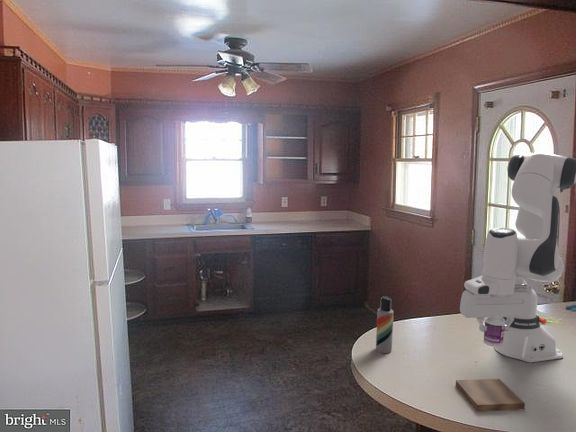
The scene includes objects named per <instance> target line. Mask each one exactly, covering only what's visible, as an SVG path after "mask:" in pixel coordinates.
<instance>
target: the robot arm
mask: <svg viewBox="0 0 576 432" xmlns="http://www.w3.org/2000/svg"><path fill="white" fill-rule="evenodd" d="M506 169H507V177H508V178H509V180H511V181H512V182H513V183H512V187H511V197H512V199H513V201H514V202H515V203H516V205H517V206H518V207H519V208H518V211H517V214H516V220H515V223H514V224H515V225H514V226H515V229H516V230H517V231H518V233H520V235H522V236H523V237H519V236H518V233H517V231H516V230H515V229H512V228H509V227H495V228H492V229H490V230H488V231H487V235H486V238H485V243H484V248H483V257H482V260H483V268H482V271H481V275H480V276H477V277H474V278H472V279H468V280H465V282H464V288H465V290H464V291H463V292H462V294H461V297H460V304H459V311H460V314H461V315H462V316H463V317H464V318H466V319H467V318H468V319H471V318H472V319H476V321H477V322H478V324H479V325H478V326H479V328H478V329H479V331H480V332H483V333H484V331H487V326H486V325H485V323H484V322H485V319H486V318H487V317H495V316H496V315H497V314H501V315H502V317H503V318H502V319H503V320H504V322H505V328H504V338H503V345H502V346H500V347H493V348H494V350H496V351H497V352H498V353H499V354H500V355H503V356H506V357H508V358H512V359H517V360H521V361H524V362H527V363H537V362H544V361H552V360H557V359H563V353H562V351H561V350H560V349H559V348H557V345H556V344H557V343H556V340H555V337H554V336H553V335H552V334H551V333H550V332H548V331H547V330H546V329H545V328H544V327H543V326H541V325H546V324H547V322H548V321H547V319H546V318H544V317H540V316H539V315H537V308H538V299H539V298H538V294H537V292H536V291H535V290H534V289H533V288H532V287H531V286H530V285H528V283H527V280H526V279H529V280H532V281H533V280H534V281H536V282H545V283H546V282H547V283H552V282H553V283H554V282H557V281H558V280H559V279H560V277H562V275H563V272H564V268H565V266H564V261H563V258H562V257H561V255H560V252H559V239H560V238H559V237H560V222H561V221H560V219H561V213H560V208H561V207H560V202H559V199H558V197H557V189H559V193H560V194H561V193H563V191H564V190H569V189H570V188H573V186H575V184H576V158H574V157H571V156H563V155H560V154H559V155H558V154H554V153H548V152H547V153H543V152H534V153H533V152H523V151H522V152H516V153H514V154H512V155H511V157H510V159H509V161H508V163H507V167H506Z"/></svg>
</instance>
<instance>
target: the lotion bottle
mask: <svg viewBox="0 0 576 432" xmlns="http://www.w3.org/2000/svg"><path fill="white" fill-rule="evenodd" d="M376 313H377V315H376V316H377V317H376V334H375V335H376V337H375V339H376V340H375V350H376V351H377V352H378V353H382V354H389V353H391V352H392V351H393V349H392V348H393V332H394V331H393V330H394V313H395V312H394V310H393V309H392V298H391V297H389V296H381V298H380V306H379V308H377V312H376Z"/></svg>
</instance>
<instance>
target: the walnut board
mask: <svg viewBox="0 0 576 432" xmlns="http://www.w3.org/2000/svg"><path fill="white" fill-rule="evenodd" d="M455 387H456V389H457V390H458V391H459V392H460V393H461V395H462V396H463V397H464V398H465V399H466V400H467V402H469V404H470V405H471V406H472V408H473V409H474V410H475V411H476V412H477V413H478V412H495V411H496V412H498V411H500V412H501V411H502V410H503V411H517V410H516V409H524V410H525V404H526V403H525V402H524V400H522V399H521V398H520V397H519V396H518V395H517V394H516V393H515V392H514V391H513V390H511V388H509V386H507V384H506V383H504V381H502V380H501V379H500V378H488V379H484V378H483V379H459V380H457V379H456V380H455Z"/></svg>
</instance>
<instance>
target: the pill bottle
mask: <svg viewBox="0 0 576 432" xmlns="http://www.w3.org/2000/svg"><path fill="white" fill-rule="evenodd" d="M502 318H503V317H502V315H501V314H497V315H496V316H495V317H485V318H484V324H485V325H486V326H487V331H484V332H483V343H484V344H485V345H487V346H490V347H493V348H494V347H500V346H502V345H503V338H504V328H505V322H504V320H503V319H502Z"/></svg>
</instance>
